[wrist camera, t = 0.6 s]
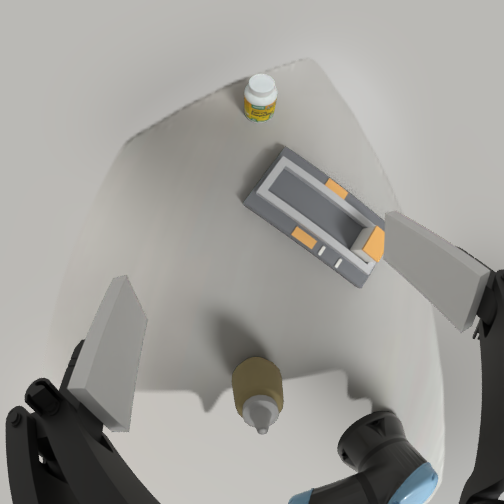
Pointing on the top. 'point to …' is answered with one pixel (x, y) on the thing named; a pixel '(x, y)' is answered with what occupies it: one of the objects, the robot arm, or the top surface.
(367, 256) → the fader tab
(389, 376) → the top surface
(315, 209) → the console board
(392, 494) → the robot arm
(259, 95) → the supplement bottle
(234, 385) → the squeeze bottle
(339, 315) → the top surface
